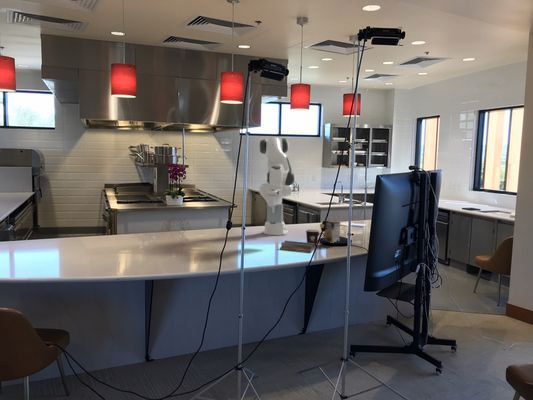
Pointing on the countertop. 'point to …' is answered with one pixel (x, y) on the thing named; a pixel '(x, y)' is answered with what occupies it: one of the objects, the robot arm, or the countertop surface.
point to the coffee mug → (313, 236)
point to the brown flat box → (297, 246)
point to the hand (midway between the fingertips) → (274, 211)
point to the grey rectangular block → (275, 214)
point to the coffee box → (331, 231)
